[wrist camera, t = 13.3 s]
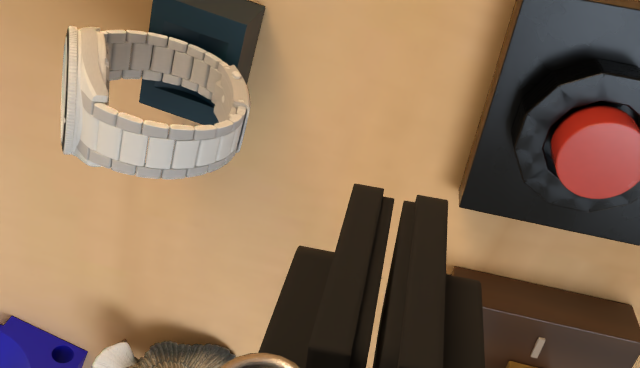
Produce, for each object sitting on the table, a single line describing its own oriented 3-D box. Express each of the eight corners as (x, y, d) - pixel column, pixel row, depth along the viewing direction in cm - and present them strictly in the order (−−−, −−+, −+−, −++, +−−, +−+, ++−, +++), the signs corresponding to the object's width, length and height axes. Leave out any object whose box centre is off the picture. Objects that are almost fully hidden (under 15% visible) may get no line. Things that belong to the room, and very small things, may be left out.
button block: (521, -20, 27) (530, 0, 24) (735, 18, 26) (771, 44, 23) (458, 190, 33) (459, 227, 30) (631, 226, 32) (649, 269, 29)
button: (566, 97, 26) (573, 113, 24) (653, 114, 26) (666, 132, 24) (539, 169, 28) (543, 189, 26) (620, 186, 27) (629, 207, 26)
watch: (142, -37, 29) (-1, 30, 20) (300, 18, 29) (229, 111, 20) (129, 68, 32) (0, 168, 23) (272, 118, 32) (200, 239, 23)
